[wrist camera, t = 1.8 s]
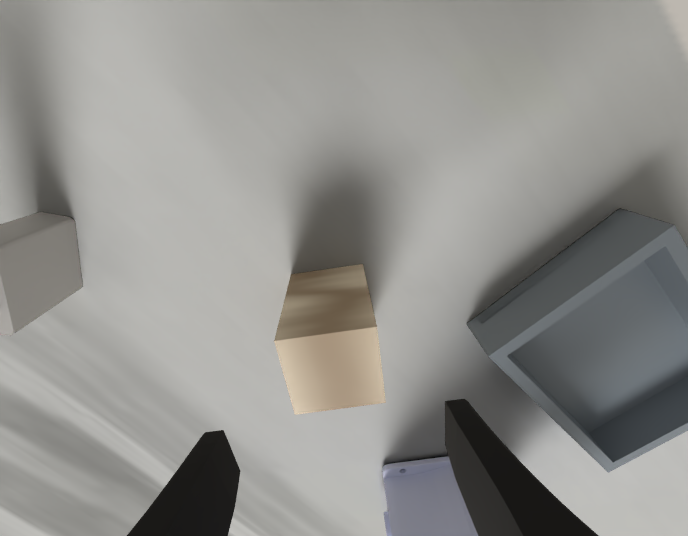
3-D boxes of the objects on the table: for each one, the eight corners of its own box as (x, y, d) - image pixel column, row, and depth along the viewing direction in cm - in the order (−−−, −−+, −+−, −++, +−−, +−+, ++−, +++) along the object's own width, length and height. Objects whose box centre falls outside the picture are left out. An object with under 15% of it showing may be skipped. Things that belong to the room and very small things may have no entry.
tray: (576, 432, 24) (608, 472, 22) (466, 323, 20) (488, 356, 17) (712, 354, 22) (767, 388, 19) (619, 208, 17) (674, 225, 14)
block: (304, 333, 20) (295, 414, 14) (291, 274, 18) (274, 341, 13) (370, 323, 20) (385, 402, 14) (362, 263, 18) (376, 326, 13)
